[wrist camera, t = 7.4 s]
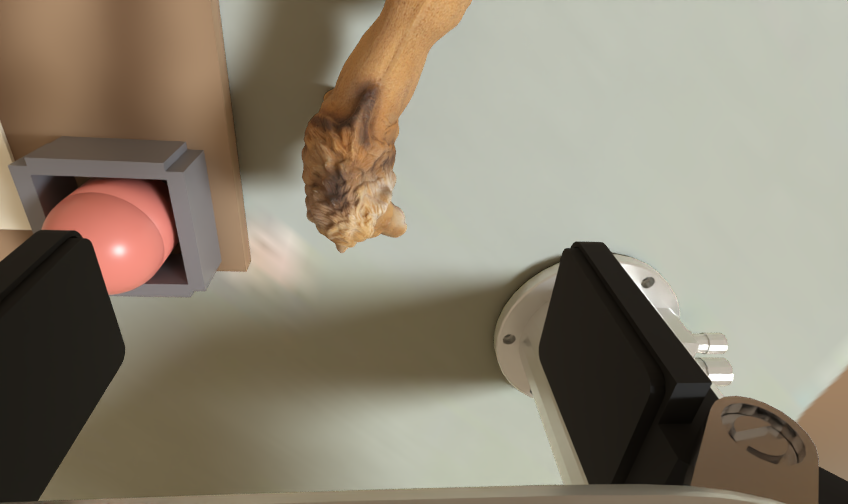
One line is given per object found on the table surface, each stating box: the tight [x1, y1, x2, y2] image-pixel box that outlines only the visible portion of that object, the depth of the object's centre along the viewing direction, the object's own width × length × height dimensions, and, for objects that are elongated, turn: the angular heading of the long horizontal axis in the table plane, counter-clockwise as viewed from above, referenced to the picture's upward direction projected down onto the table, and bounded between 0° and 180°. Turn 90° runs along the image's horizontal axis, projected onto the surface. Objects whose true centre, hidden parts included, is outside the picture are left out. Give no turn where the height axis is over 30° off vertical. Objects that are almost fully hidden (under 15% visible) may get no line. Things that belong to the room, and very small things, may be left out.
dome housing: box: [8, 136, 222, 297], centre depth 25 cm, size 7×7×3 cm
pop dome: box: [41, 177, 179, 295], centre depth 23 cm, size 5×5×6 cm
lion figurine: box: [302, 0, 472, 253], centre depth 20 cm, size 15×5×9 cm, turn 160°
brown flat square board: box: [0, 0, 251, 272], centre depth 23 cm, size 20×20×1 cm
